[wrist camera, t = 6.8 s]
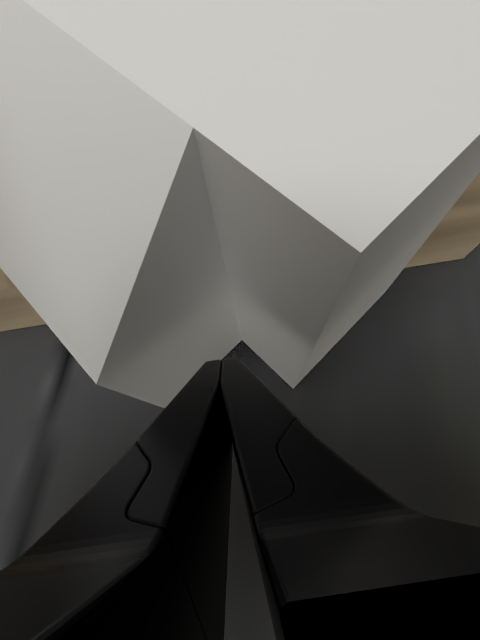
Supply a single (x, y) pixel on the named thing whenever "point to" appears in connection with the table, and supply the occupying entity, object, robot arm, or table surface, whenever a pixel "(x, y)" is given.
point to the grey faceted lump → (225, 171)
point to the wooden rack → (442, 245)
